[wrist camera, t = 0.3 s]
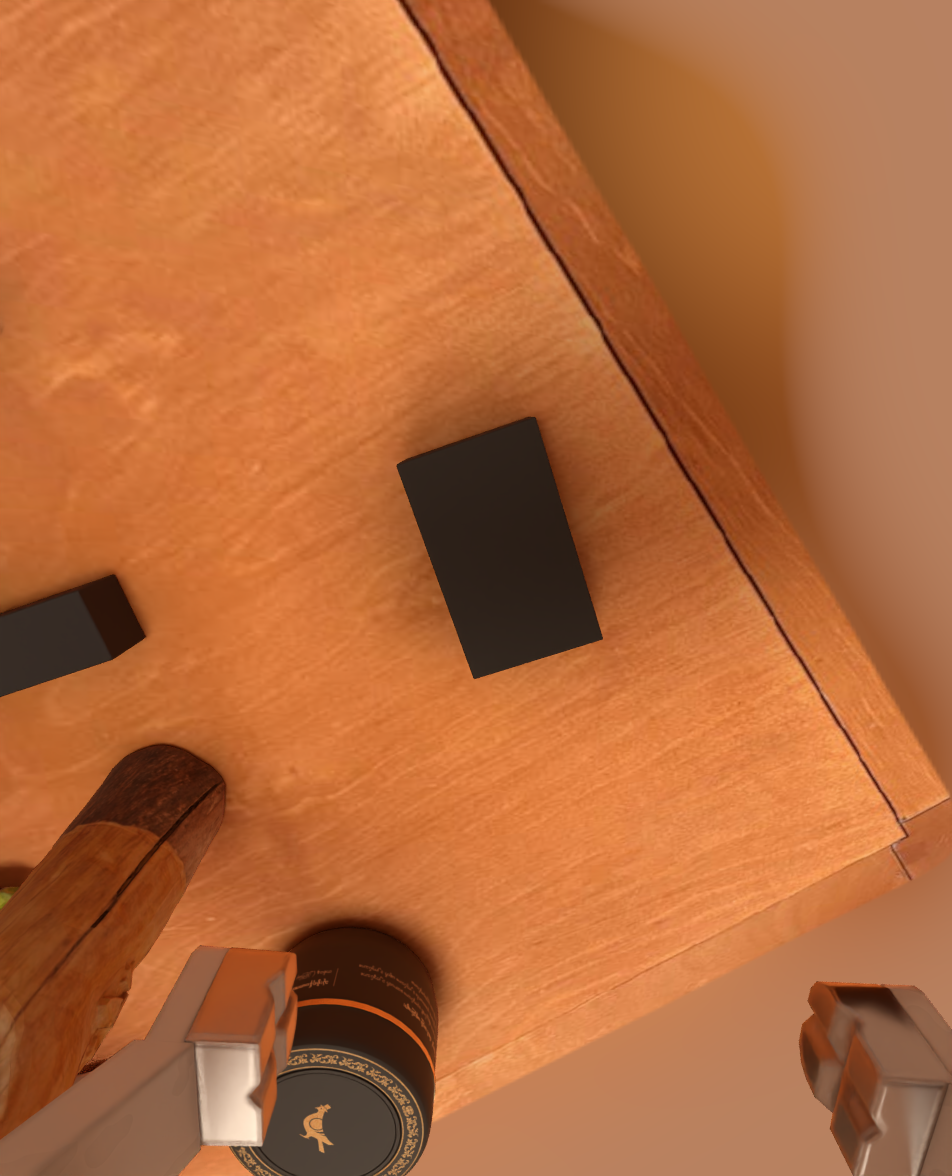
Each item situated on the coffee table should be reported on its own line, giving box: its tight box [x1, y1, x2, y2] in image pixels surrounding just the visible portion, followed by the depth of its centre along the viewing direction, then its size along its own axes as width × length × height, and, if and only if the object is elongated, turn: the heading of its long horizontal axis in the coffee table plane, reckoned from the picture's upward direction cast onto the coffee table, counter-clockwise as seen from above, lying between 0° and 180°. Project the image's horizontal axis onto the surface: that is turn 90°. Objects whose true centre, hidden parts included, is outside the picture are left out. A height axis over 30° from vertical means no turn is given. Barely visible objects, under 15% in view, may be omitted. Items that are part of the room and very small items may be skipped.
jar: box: [229, 927, 438, 1176], centre depth 34 cm, size 10×10×8 cm
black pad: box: [397, 417, 603, 679], centre depth 29 cm, size 10×6×3 cm, turn 19°
